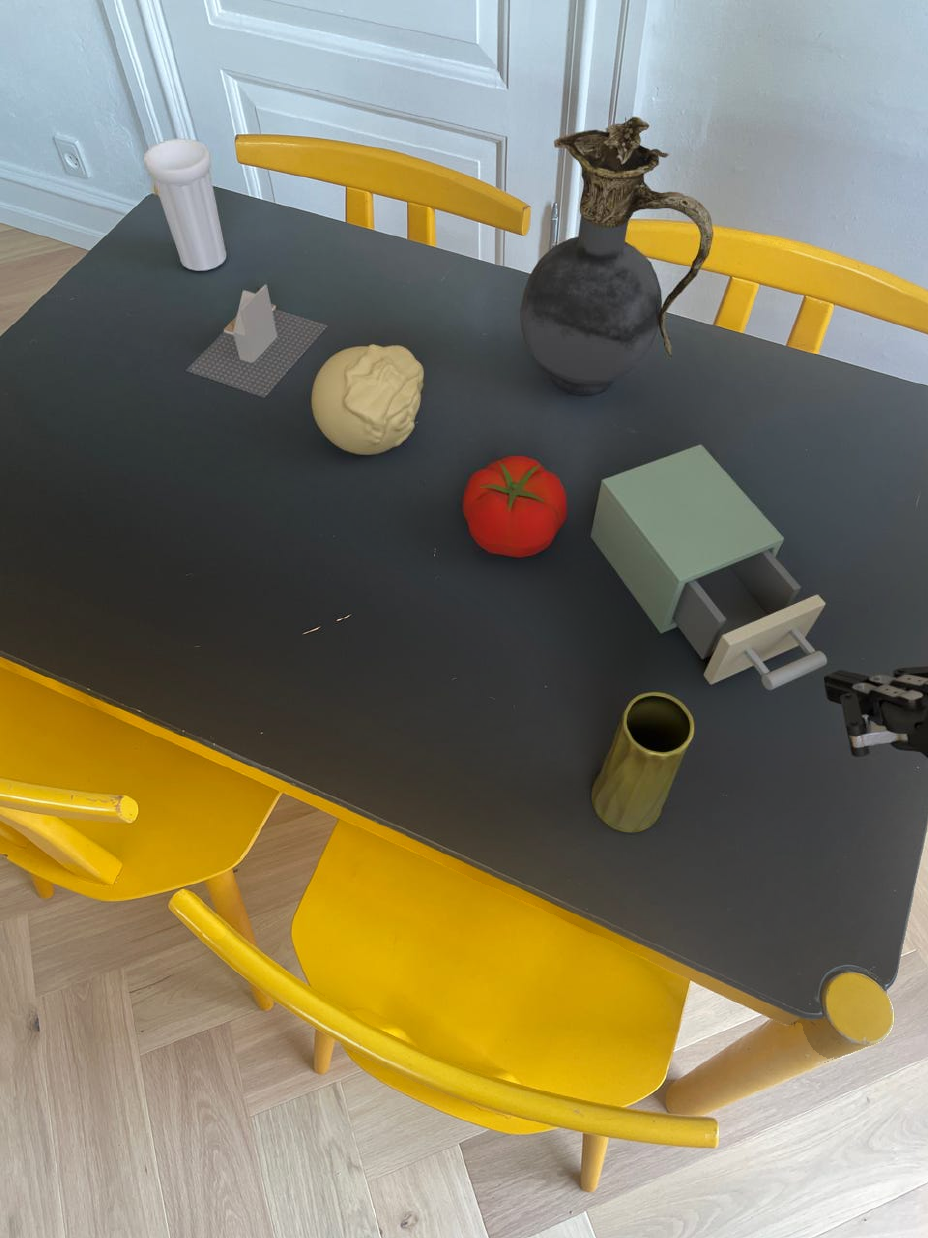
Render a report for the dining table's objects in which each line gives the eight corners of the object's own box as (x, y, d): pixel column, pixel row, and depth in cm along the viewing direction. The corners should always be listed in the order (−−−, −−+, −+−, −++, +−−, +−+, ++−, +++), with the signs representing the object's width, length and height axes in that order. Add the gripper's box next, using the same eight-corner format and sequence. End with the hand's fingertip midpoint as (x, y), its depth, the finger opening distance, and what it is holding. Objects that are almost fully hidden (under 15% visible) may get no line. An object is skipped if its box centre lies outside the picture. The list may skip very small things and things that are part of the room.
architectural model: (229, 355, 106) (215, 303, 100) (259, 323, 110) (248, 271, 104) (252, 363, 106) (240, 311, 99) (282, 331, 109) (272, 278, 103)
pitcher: (537, 333, 109) (562, 77, 85) (681, 375, 105) (752, 120, 80) (503, 384, 104) (519, 127, 79) (654, 432, 99) (721, 176, 75)
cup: (193, 284, 114) (163, 179, 103) (163, 257, 118) (130, 151, 106) (245, 262, 117) (221, 156, 106) (214, 235, 121) (188, 131, 109)
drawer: (829, 679, 80) (857, 639, 74) (737, 721, 77) (759, 684, 72) (724, 552, 88) (742, 508, 83) (638, 586, 86) (651, 543, 80)
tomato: (511, 478, 95) (515, 427, 89) (583, 534, 91) (593, 485, 84) (439, 527, 91) (438, 477, 85) (511, 589, 86) (515, 541, 80)
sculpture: (390, 483, 95) (384, 408, 86) (299, 446, 98) (283, 370, 89) (439, 419, 100) (438, 342, 91) (351, 386, 103) (342, 309, 94)
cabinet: (757, 593, 86) (784, 538, 79) (660, 633, 84) (679, 581, 76) (682, 501, 93) (701, 443, 86) (590, 536, 90) (601, 479, 83)
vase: (585, 824, 73) (610, 750, 61) (596, 759, 76) (622, 678, 64) (657, 841, 72) (697, 770, 60) (665, 775, 75) (704, 695, 63)
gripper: (1091, 649, 56) (885, 614, 72) (935, 727, 53) (757, 672, 69) (1105, 752, 58) (901, 694, 74) (955, 833, 54) (777, 755, 71)
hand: (832, 684), depth 71 cm, fingers closed
